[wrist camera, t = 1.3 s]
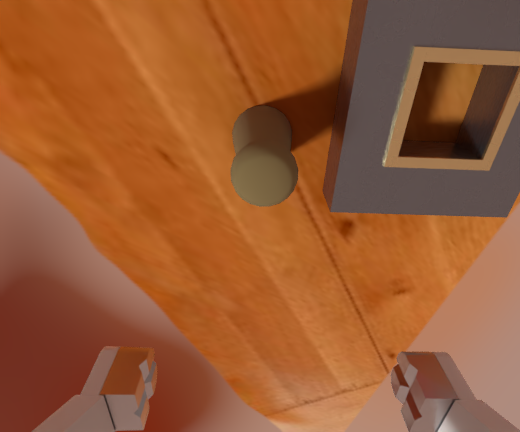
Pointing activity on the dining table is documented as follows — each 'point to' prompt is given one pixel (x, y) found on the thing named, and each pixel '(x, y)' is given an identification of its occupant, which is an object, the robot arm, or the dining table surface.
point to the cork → (263, 157)
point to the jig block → (400, 103)
